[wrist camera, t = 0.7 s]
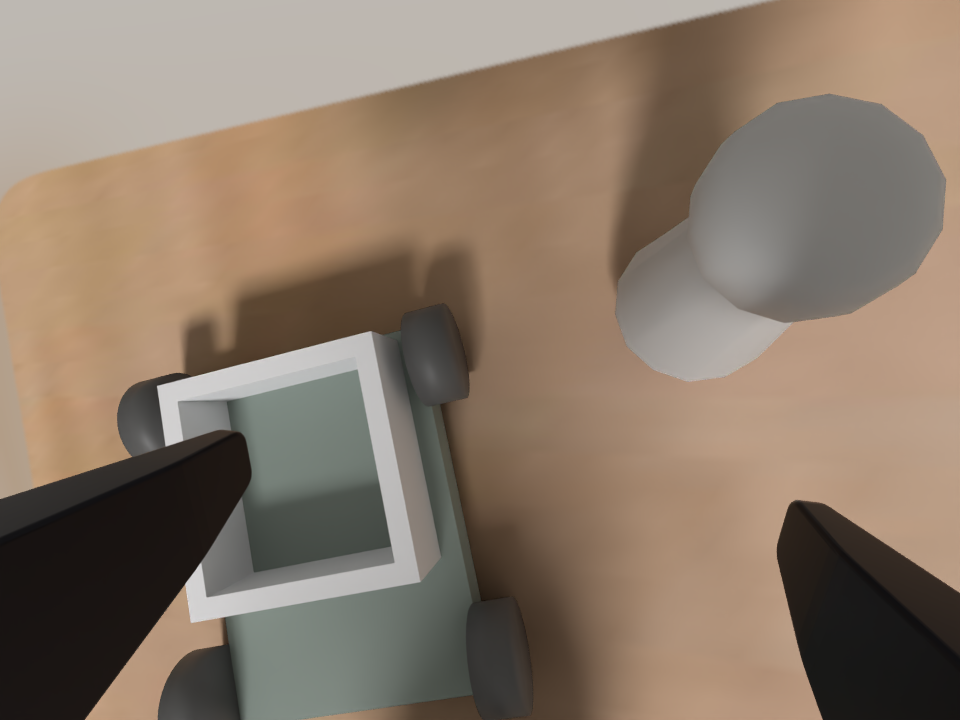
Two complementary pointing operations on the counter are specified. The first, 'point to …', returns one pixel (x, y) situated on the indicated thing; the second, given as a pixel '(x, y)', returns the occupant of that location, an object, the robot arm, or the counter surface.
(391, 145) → the counter surface
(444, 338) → the toy wheeled cart
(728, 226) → the salt shaker
